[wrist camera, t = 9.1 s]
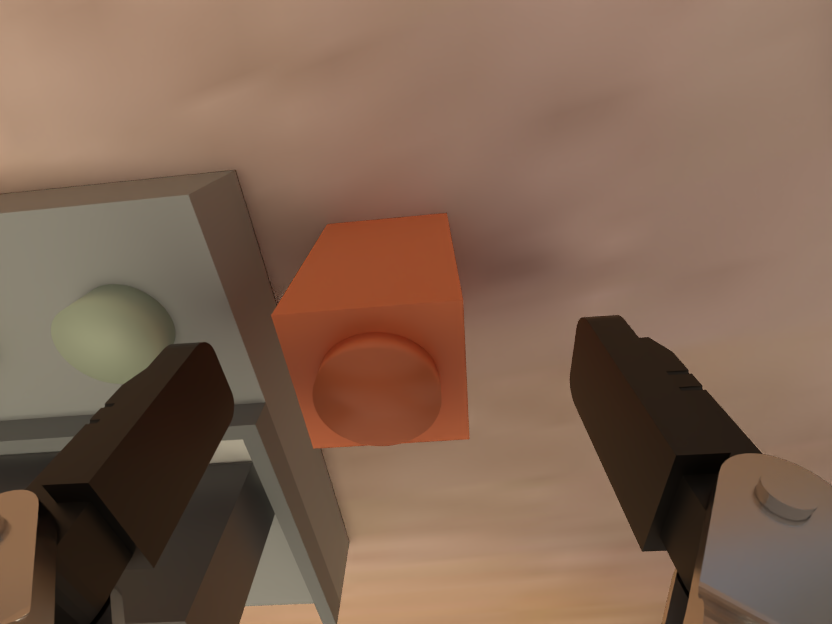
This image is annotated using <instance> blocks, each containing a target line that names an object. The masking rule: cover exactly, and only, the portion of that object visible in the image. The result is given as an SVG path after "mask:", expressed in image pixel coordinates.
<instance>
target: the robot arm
mask: <svg viewBox="0 0 832 624" xmlns="http://www.w3.org/2000/svg"><path fill="white" fill-rule="evenodd" d="M570 388H571V394H572V398H573V401H574V404H575V406H576V408H577V411H578V413H579V415H580V417H581V419H582V421H583V424H584V426H585V428H586V430H587V432H588V435H589V437H590V439H591V441H592V443H593V446H594V448H595V450H596V452H597V454H598V456H599V459H600V461H601V463H602V465H603V467H604V470H605V472H606V474H607V476H608V478H609V480H610V483H611V485H612V487H613V489H614V491H615V494H616V496H617V498H618V500H619V502H620V504H621V507H622V509H623V511H624V513H625V515H626V518H627V520H628V522H629V524H630V526H631V529H632V531H633V533H634V535H635V537H636V539H637V542H638V544H639V546H640V548H641V550H642V551H667V552H668V554H669V556H670V558H671V559H672V561H673V563H674V565H675V567H676V569H675V571H674V573H673V576H672V580H671V584H670V588H669V592H668V597H667V601H666V605H665V610H664V614H663V618H662V623H661V624H832V486H831V485H830V484H829V483H827V482H826V481H824V480H823V479H822V478H820V477H819V476H817V475H816V474H814V473H812V472H811V471H809V470H807V469H805V468H803V467H801V466H799V465H797V464H795V463H792V462H790V461H787V460H784V459H781V458H778V457H774V456H770V455H765V454H762V453H761V452H760V451H759V450H758V448H757V447H756V446H755V445H754V444H753V443H752V442H751V440H750V439H749V438H748V437H747V436H746V435H745V434H744V433H743V431H742V430H741V429H740V428H739V427H738V426H737V425H736V423H735V422H734V421H733V420H732V419H731V418H730V417H729V416H728V414H727V413H726V412H725V411H724V410H723V409H722V408H721V406H720V405H719V404H718V403H717V402H716V401H715V400H714V399H713V397H712V396H711V395H710V394H709V393H708V392H707V391H706V390H703V389H702V385H701V384H700V383H699V381H698V380H697V379H696V378H695V377H694V376H693V375H692V374H689V373H688V369H687V368H686V367H685V366H684V364H683V363H682V362H681V361H680V360H679V359H678V358H677V357H676V355H675V354H674V353H673V352H672V351H670V350H669V349H667V348H665V347H664V346H662V345H660V344H659V343H657V342H655V341H654V340H652V339H650V338H649V337H644V338H639V337H638V336H637V335H636V334H635V332H634V331H633V330H632V329H631V327H630V326H629V325H628V324H627V322H626V321H625V320H624V319H623V318H622V317H621V316H619V315H612V316H597V317H583V318H580V320H579V321H578V324H577V328H576V336H575V343H574V350H573V357H572V364H571V372H570ZM233 414H234V398H233V394H232V391H231V389H230V386H229V384H228V382H227V379H226V377H225V374H224V372H223V370H222V367H221V365H220V362H219V360H218V358H217V355H216V353H215V351H214V349H213V347H212V346H211V345H210V344H209V343H207V342H195V343H180V344H170V345H168V346H166V347H165V348H164V349H163V350H162V351H161V353H160V354H159V355H158V356H157V357H156V358H155V359H154V360H153V362H152V363H151V364H150V365H149V366H148V367H147V368H146V369H145V370H143V371H142V372H140V373H139V374H137V375H136V376H134V377H133V378H131V379H130V380H129V381H127V382H126V383H124V384H123V385H122V386H121V387H120V388H119V389H118V390H117V391H116V392H115V393H114V394H113V395H112V396H111V397H110V398H109V400H108V401H107V402H106V403H105V407H104V408H100V409H99V410H98V411H97V412H96V414H95V415H94V416H93V417H92V418H91V419H90V423H89V424H85V425H84V426H83V428H82V429H81V430H80V431H79V432H78V433H77V434H76V435H75V436H74V437H73V438H72V439H71V440H70V442H69V443H68V444H67V445H66V446H65V447H64V448H63V449H62V450H61V451H60V452H59V453H58V454H57V456H56V457H55V458H54V459H53V460H52V461H51V462H50V463H49V464H48V465H47V466H46V467H45V468H44V470H43V471H42V472H41V473H40V474H39V475H38V476H37V477H36V478H35V479H34V480H33V481H32V482H31V484H30V485H29V486H28V487H27V488H26V489H25V490H12V491H8V492H4V493H0V624H125V618H124V608H123V599H122V594H121V591H120V589H119V588H118V587H117V585H116V584H117V582H118V580H119V578H120V577H121V575H122V573H123V572H124V570H126V569H151V568H154V567H155V566H156V564H157V562H158V560H159V558H160V556H161V554H162V552H163V550H164V548H165V547H166V545H167V543H168V541H169V539H170V537H171V535H172V533H173V531H174V529H175V528H176V526H177V524H178V522H179V520H180V518H181V516H182V514H183V512H184V511H185V509H186V507H187V505H188V503H189V501H190V499H191V497H192V495H193V493H194V492H195V490H196V488H197V486H198V484H199V482H200V480H201V478H202V476H203V474H204V473H205V471H206V469H207V467H208V465H209V463H210V461H211V459H212V457H213V455H214V454H215V452H216V450H217V448H218V446H219V444H220V442H221V440H222V438H223V436H224V435H225V433H226V431H227V429H228V427H229V425H230V423H231V421H232V418H233Z"/></svg>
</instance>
